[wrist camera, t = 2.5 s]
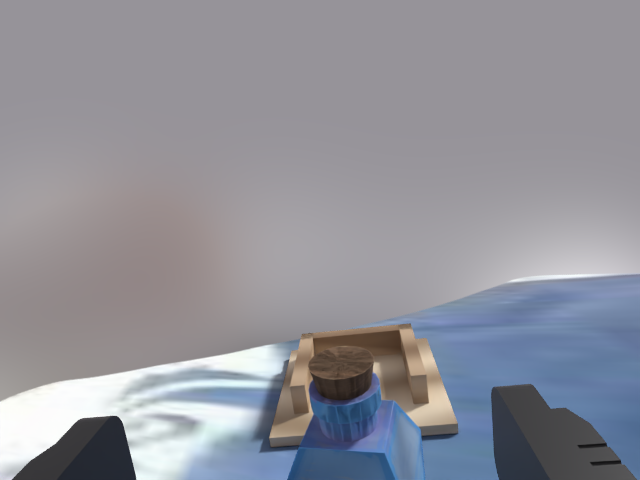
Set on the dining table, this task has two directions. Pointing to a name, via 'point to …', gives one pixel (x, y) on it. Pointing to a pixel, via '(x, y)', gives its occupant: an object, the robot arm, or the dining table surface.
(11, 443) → the dining table surface
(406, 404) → the u cradle
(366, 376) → the perfume bottle
